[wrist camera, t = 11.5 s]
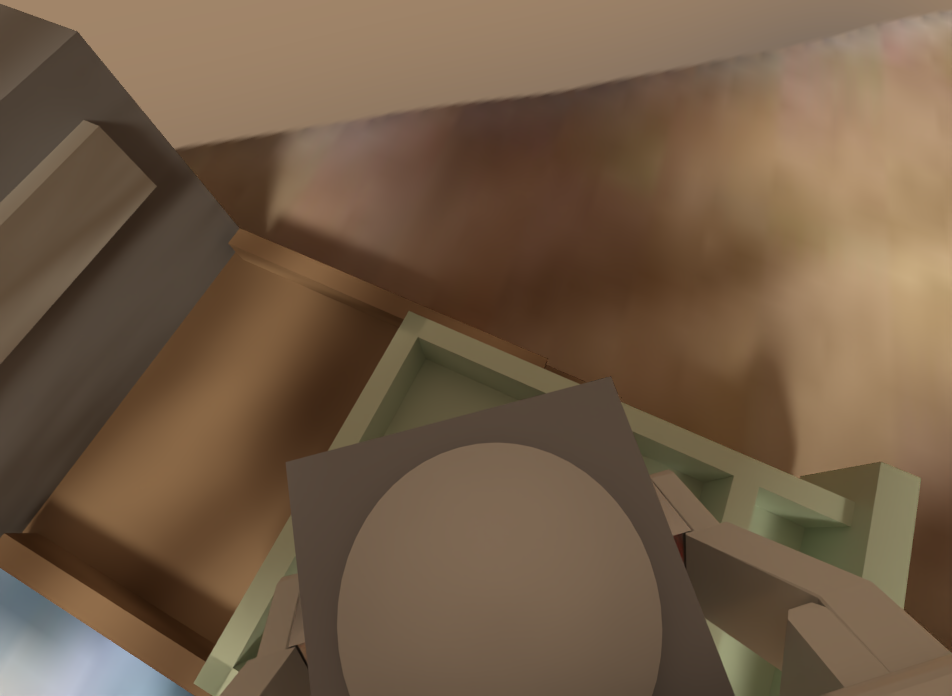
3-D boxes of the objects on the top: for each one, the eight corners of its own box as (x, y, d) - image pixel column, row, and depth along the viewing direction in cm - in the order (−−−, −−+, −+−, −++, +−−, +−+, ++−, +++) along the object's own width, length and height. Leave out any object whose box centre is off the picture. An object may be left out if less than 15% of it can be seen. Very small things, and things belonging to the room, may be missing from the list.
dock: (-60, 491, 18) (-678, 447, 8) (173, 215, 22) (-59, -18, 13) (456, 820, 14) (387, 1432, 4) (613, 405, 18) (745, 270, 9)
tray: (225, 694, 14) (145, 743, 11) (433, 319, 18) (421, 273, 15) (726, 1019, 11) (821, 1215, 8) (831, 489, 16) (921, 478, 12)
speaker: (427, 689, 12) (326, 945, 5) (391, 498, 14) (276, 459, 7) (605, 635, 13) (782, 791, 5) (548, 455, 15) (615, 369, 7)
